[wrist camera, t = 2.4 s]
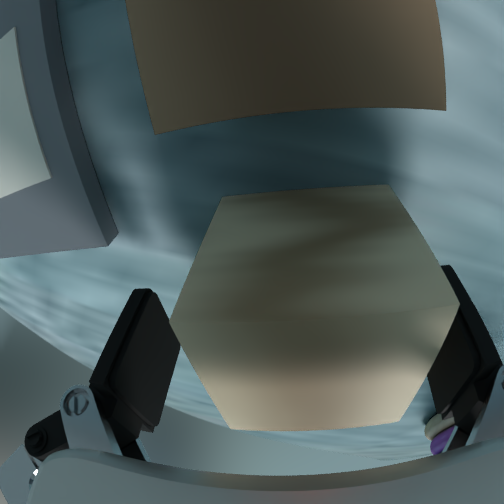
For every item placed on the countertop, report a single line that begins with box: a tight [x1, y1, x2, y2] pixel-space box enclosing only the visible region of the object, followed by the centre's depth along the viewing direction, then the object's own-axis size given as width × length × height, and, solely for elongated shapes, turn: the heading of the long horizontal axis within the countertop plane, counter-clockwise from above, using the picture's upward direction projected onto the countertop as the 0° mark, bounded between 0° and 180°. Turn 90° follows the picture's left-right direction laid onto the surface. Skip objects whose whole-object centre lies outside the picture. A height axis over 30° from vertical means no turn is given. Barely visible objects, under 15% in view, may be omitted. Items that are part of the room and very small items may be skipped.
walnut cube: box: [125, 0, 446, 135], centre depth 5 cm, size 5×5×5 cm
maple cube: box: [169, 185, 460, 431], centre depth 9 cm, size 6×6×6 cm
